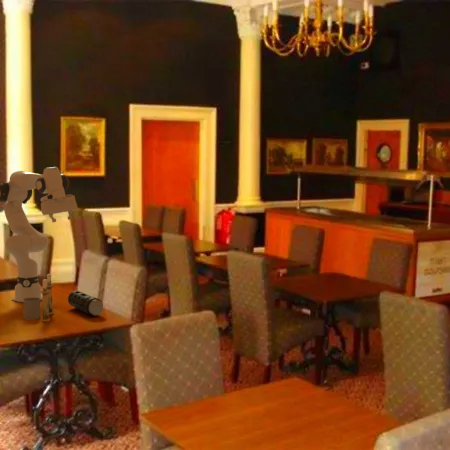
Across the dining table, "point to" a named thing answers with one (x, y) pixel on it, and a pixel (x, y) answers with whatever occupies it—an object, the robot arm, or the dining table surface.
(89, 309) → the muzzle brake
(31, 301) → the cup
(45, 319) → the candlestick outer
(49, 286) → the candlestick inner
